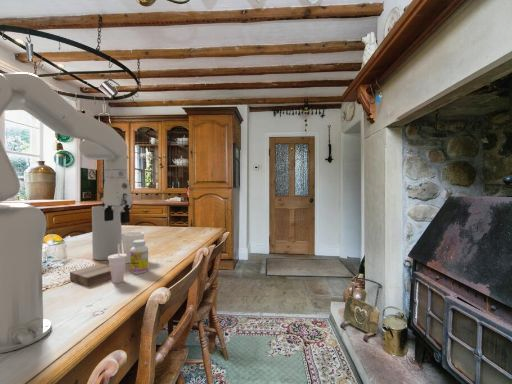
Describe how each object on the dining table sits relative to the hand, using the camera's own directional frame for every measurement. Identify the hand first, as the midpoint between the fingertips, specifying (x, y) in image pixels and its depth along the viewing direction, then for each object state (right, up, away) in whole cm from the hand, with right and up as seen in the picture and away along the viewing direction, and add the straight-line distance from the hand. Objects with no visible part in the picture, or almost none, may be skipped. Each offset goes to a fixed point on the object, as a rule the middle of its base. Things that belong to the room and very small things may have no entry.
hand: (116, 221), depth 96 cm
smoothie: (0, -23, +1) cm, 23 cm away
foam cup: (-6, -22, +26) cm, 34 cm away
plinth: (-10, -22, +4) cm, 25 cm away
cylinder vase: (-22, -21, +33) cm, 45 cm away
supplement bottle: (+3, -22, +12) cm, 25 cm away
